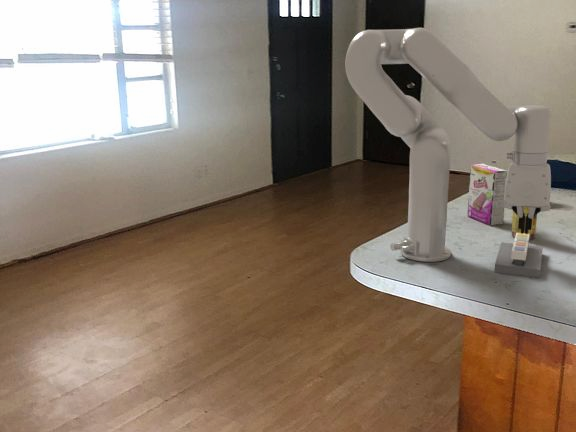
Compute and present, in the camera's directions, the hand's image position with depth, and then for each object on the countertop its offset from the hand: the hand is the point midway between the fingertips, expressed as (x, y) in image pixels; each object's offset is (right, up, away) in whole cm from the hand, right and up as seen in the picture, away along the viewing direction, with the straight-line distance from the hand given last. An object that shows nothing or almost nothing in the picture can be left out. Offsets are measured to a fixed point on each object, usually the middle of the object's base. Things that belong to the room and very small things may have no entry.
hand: (524, 232), depth 151 cm
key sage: (0, -5, +2) cm, 6 cm away
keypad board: (-1, -8, +1) cm, 8 cm away
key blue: (-3, -7, -5) cm, 10 cm away
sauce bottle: (+7, -2, +19) cm, 21 cm away
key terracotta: (-2, -6, -2) cm, 7 cm away
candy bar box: (+1, +2, +35) cm, 35 cm away
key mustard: (+1, -4, +5) cm, 7 cm away
